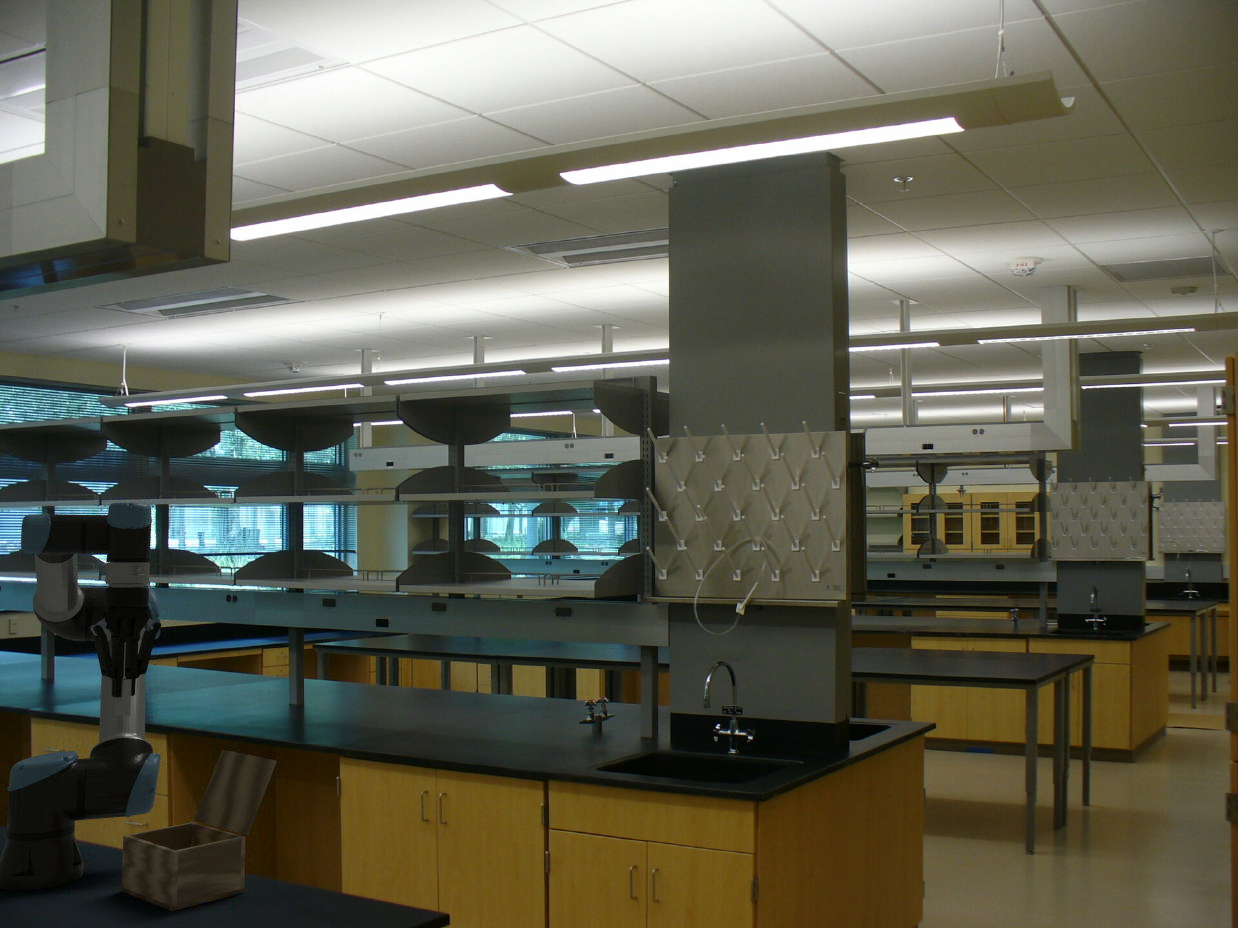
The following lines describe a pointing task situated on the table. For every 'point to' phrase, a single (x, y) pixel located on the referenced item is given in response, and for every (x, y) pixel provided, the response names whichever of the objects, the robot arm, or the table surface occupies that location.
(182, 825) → the brown wooden box
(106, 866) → the table surface
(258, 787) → the lid
